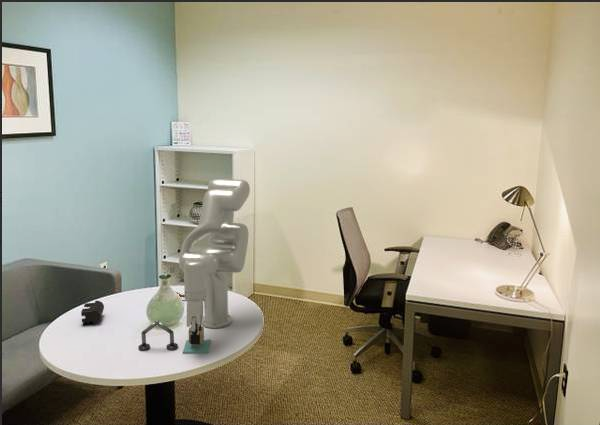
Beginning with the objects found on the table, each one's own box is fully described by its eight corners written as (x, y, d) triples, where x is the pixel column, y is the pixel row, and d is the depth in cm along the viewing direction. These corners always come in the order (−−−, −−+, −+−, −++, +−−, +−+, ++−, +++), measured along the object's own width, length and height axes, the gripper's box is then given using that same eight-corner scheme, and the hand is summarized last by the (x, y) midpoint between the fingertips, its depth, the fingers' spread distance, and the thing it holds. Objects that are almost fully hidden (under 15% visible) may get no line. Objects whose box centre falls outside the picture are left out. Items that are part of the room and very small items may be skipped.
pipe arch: (140, 345, 175) (138, 318, 173) (178, 344, 176) (177, 317, 174) (137, 351, 171) (135, 323, 169) (176, 350, 172) (175, 322, 170)
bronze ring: (190, 338, 176) (190, 325, 175) (204, 338, 177) (204, 325, 176) (188, 344, 171) (187, 332, 170) (202, 344, 172) (202, 331, 171)
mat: (186, 341, 179) (186, 340, 179) (210, 341, 180) (210, 339, 179) (182, 353, 170) (182, 352, 170) (208, 353, 171) (208, 351, 171)
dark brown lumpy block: (101, 325, 191) (100, 309, 189) (82, 326, 189) (80, 311, 188) (104, 314, 200) (103, 299, 199) (86, 316, 199) (85, 301, 197)
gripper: (188, 285, 178) (189, 330, 182) (180, 302, 162) (182, 352, 165) (208, 284, 179) (209, 329, 183) (203, 302, 162) (204, 351, 166)
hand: (196, 339), depth 174 cm, fingers closed on bronze ring, 5 cm apart
